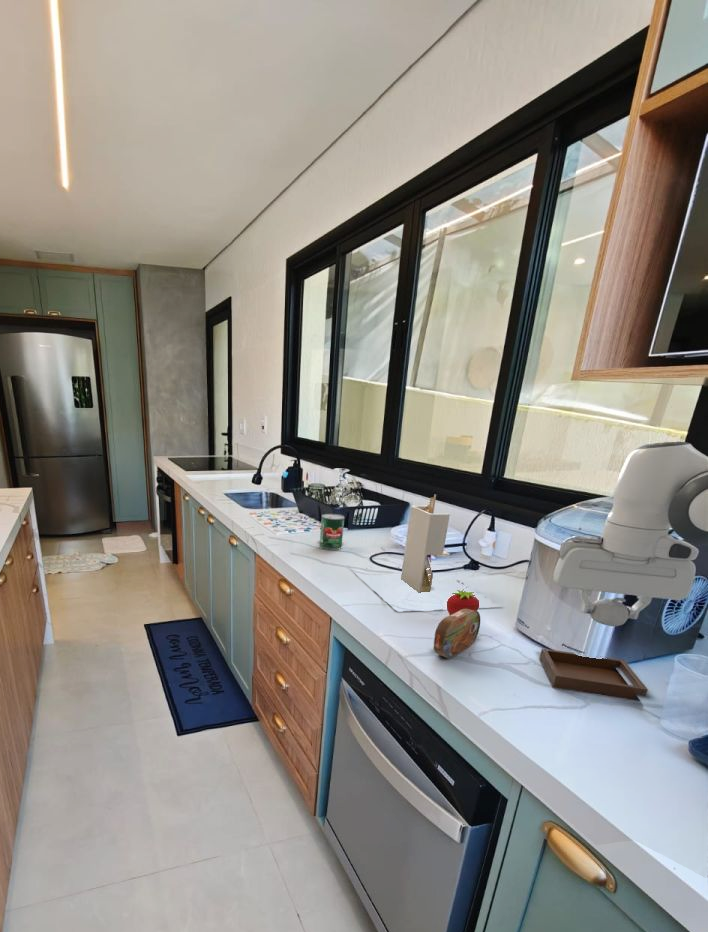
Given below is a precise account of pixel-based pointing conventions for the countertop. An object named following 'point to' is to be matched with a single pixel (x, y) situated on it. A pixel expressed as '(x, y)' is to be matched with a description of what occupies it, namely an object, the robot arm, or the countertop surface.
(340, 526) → the canned tomato
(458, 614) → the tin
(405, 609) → the countertop surface
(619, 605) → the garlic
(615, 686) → the tray
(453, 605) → the strawberry
